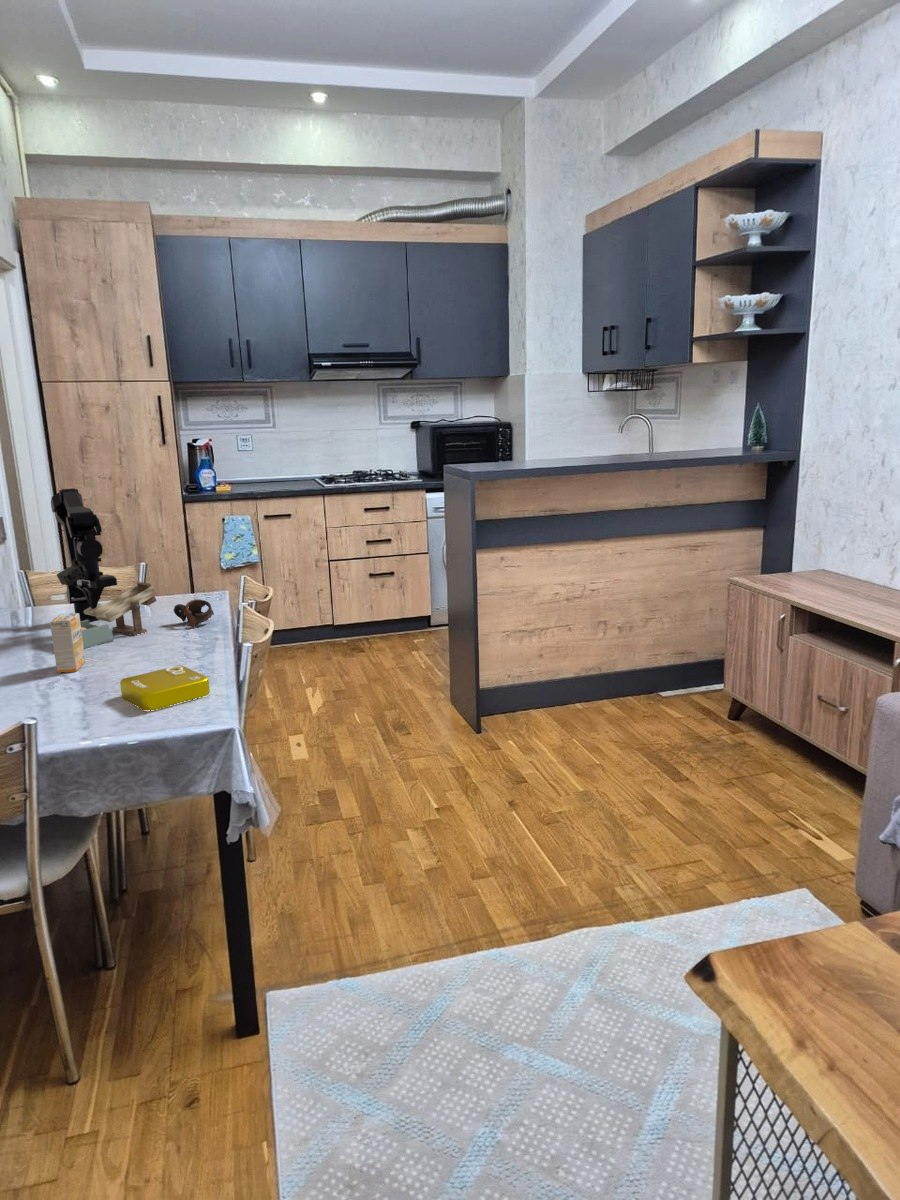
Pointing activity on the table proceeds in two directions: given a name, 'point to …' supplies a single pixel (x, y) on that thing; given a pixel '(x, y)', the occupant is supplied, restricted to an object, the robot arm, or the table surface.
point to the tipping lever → (124, 602)
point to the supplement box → (67, 642)
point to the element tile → (164, 687)
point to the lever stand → (136, 622)
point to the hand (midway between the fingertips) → (93, 608)
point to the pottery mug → (194, 611)
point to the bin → (95, 634)
